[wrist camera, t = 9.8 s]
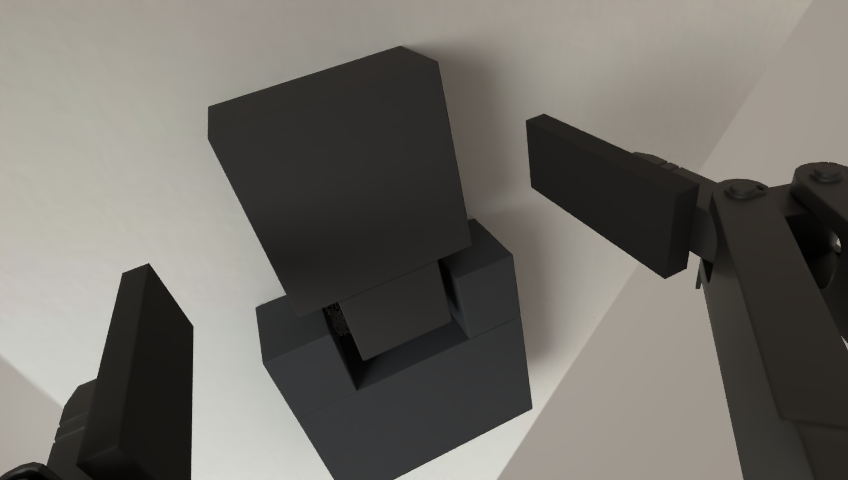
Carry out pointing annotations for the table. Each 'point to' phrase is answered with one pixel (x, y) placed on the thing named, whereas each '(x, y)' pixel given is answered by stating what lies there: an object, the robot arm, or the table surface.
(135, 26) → the table surface
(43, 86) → the table surface
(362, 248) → the tongue pad
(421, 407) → the notch pad
